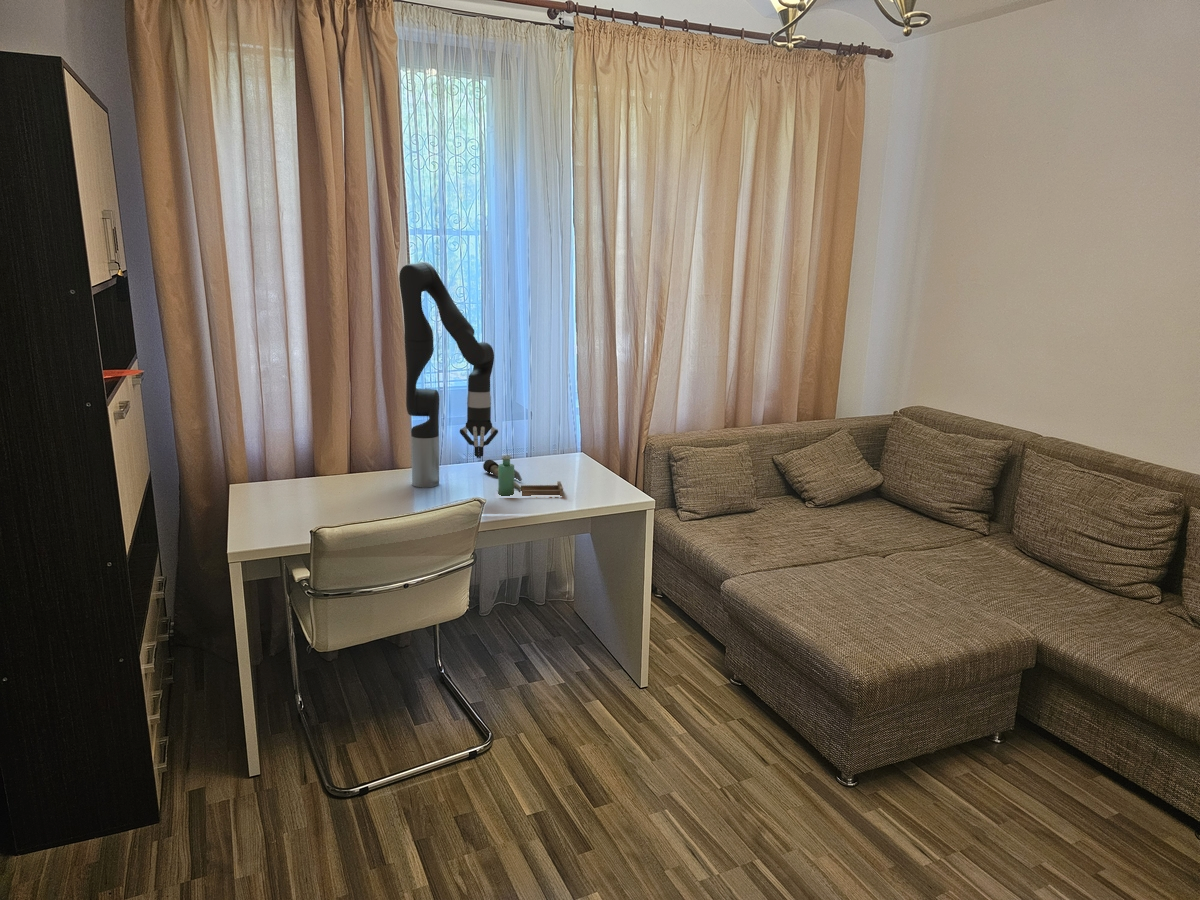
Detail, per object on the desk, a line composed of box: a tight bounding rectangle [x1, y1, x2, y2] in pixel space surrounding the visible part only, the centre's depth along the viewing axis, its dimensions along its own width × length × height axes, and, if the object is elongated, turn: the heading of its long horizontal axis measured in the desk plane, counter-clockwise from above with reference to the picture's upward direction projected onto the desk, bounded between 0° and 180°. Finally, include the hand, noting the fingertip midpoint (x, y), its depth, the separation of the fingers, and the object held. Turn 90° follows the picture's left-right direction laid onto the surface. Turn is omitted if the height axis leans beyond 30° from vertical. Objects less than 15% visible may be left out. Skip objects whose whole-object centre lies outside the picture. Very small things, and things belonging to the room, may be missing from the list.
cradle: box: [520, 481, 564, 497], centre depth 273 cm, size 9×22×4 cm, turn 99°
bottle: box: [497, 455, 515, 496], centre depth 271 cm, size 5×5×13 cm
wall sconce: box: [482, 459, 523, 490], centre depth 289 cm, size 5×6×30 cm
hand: (478, 457), depth 267 cm, fingers closed
